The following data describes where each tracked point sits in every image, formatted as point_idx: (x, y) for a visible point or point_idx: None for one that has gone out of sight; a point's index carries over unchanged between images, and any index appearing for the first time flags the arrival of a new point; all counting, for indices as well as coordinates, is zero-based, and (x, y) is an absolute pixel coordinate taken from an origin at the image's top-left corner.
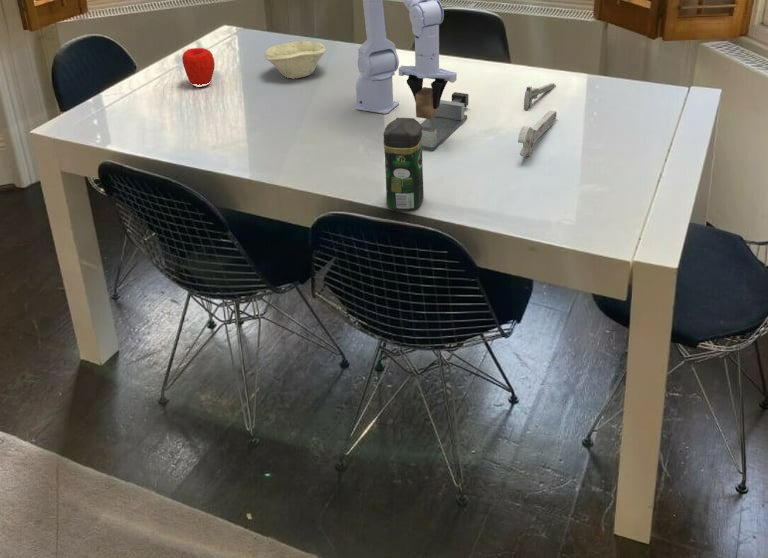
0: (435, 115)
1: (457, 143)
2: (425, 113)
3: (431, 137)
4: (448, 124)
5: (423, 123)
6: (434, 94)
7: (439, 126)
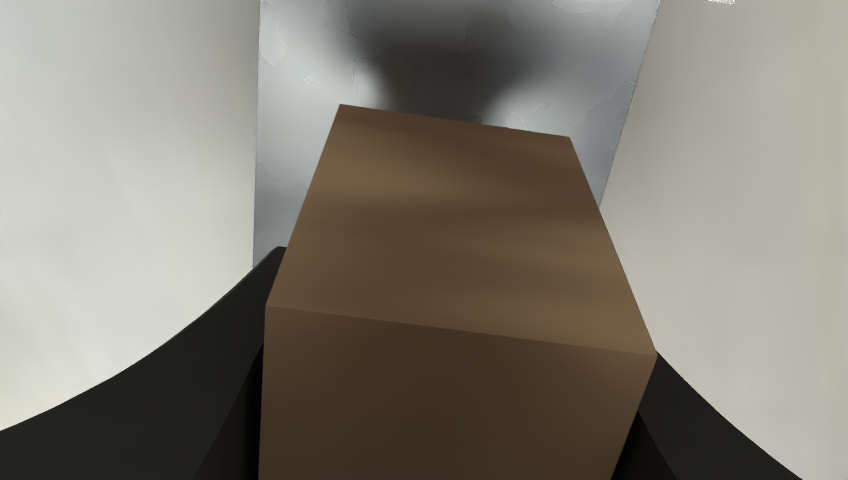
0: None
1: (123, 65)
2: (421, 147)
3: None
4: None
5: None
6: (200, 382)
7: None
